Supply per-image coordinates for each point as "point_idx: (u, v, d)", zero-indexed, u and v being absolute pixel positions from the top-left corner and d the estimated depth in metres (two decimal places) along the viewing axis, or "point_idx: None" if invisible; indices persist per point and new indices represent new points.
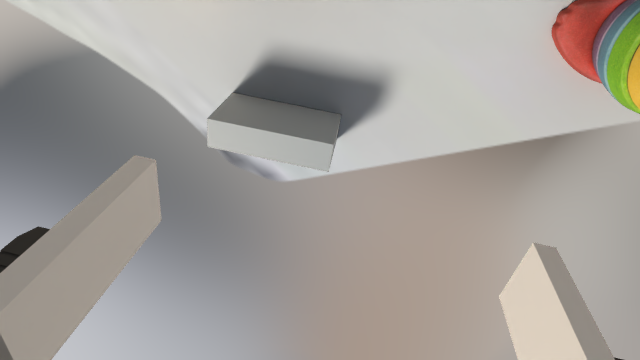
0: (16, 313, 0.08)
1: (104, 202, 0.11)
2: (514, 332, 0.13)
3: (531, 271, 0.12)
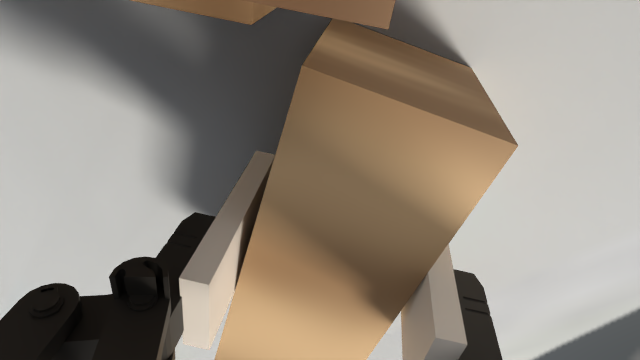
0: (215, 282, 0.10)
1: (250, 191, 0.13)
2: None
3: None
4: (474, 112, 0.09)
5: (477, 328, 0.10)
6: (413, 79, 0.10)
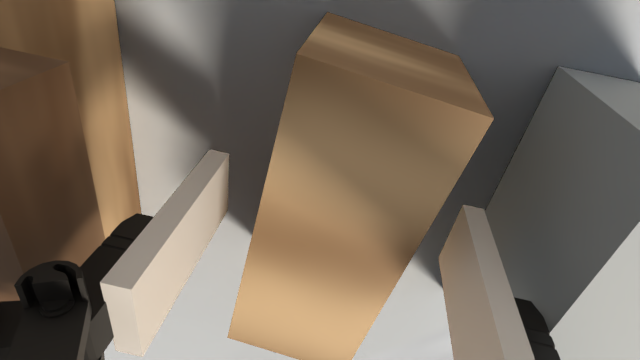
0: (143, 287, 0.09)
1: (195, 191, 0.12)
2: (445, 286, 0.14)
3: (460, 229, 0.14)
4: (455, 92, 0.10)
5: None
6: (400, 64, 0.11)
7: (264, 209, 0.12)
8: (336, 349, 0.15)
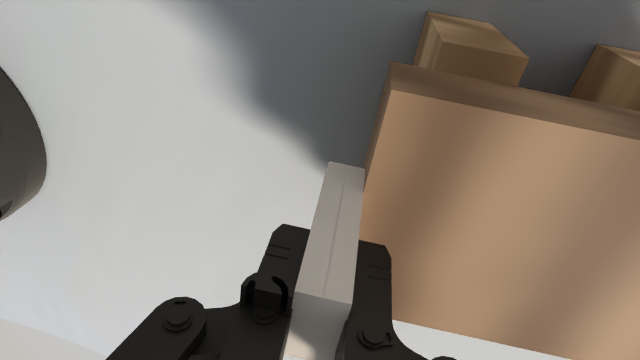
0: None
1: (335, 202, 0.13)
2: None
3: None
4: None
5: (374, 293, 0.11)
6: None
7: None
8: None
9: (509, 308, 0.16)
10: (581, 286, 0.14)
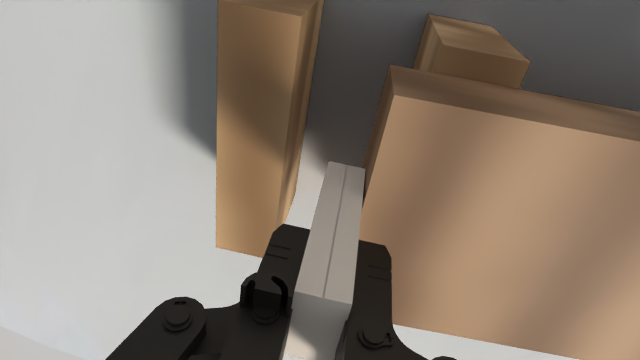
0: None
1: (335, 202, 0.13)
2: None
3: None
4: None
5: (374, 293, 0.11)
6: None
7: None
8: None
9: (511, 310, 0.16)
10: (583, 286, 0.14)
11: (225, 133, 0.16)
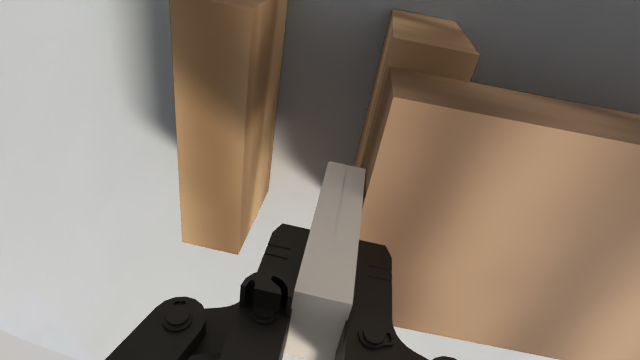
0: None
1: (335, 202, 0.13)
2: None
3: None
4: None
5: (375, 293, 0.11)
6: None
7: None
8: None
9: (511, 313, 0.15)
10: (583, 289, 0.14)
11: (184, 126, 0.16)
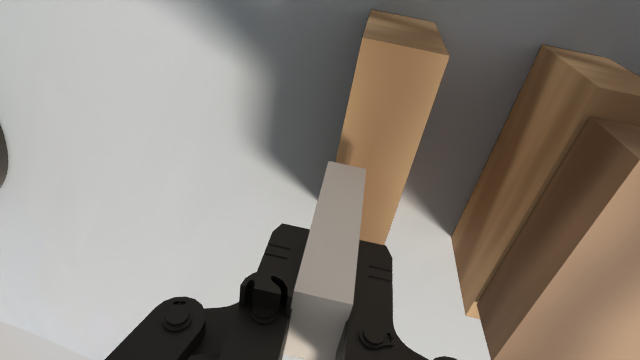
0: None
1: (334, 202, 0.13)
2: None
3: None
4: None
5: (375, 293, 0.11)
6: None
7: None
8: None
9: None
10: None
11: None
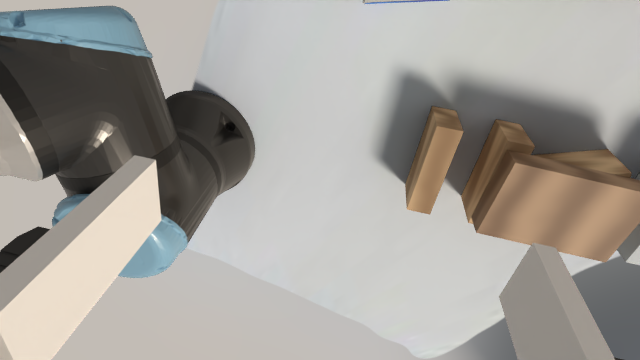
0: (16, 313, 0.08)
1: (104, 202, 0.11)
2: (514, 332, 0.13)
3: (531, 271, 0.12)
4: None
5: None
6: None
7: None
8: None
9: (541, 231, 0.45)
10: (565, 222, 0.44)
11: (425, 165, 0.46)
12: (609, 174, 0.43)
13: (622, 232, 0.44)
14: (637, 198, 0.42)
